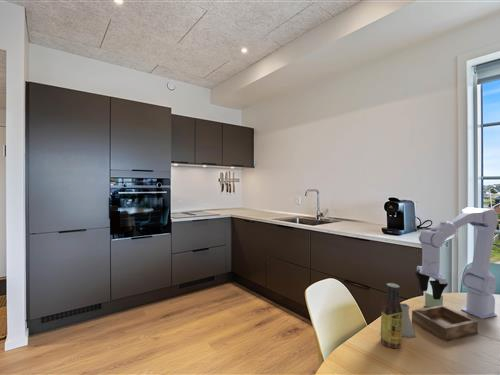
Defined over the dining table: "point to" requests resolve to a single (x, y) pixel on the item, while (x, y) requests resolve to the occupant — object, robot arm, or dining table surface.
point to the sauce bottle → (391, 317)
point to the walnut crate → (445, 322)
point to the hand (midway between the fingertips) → (430, 294)
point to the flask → (406, 322)
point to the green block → (432, 300)
